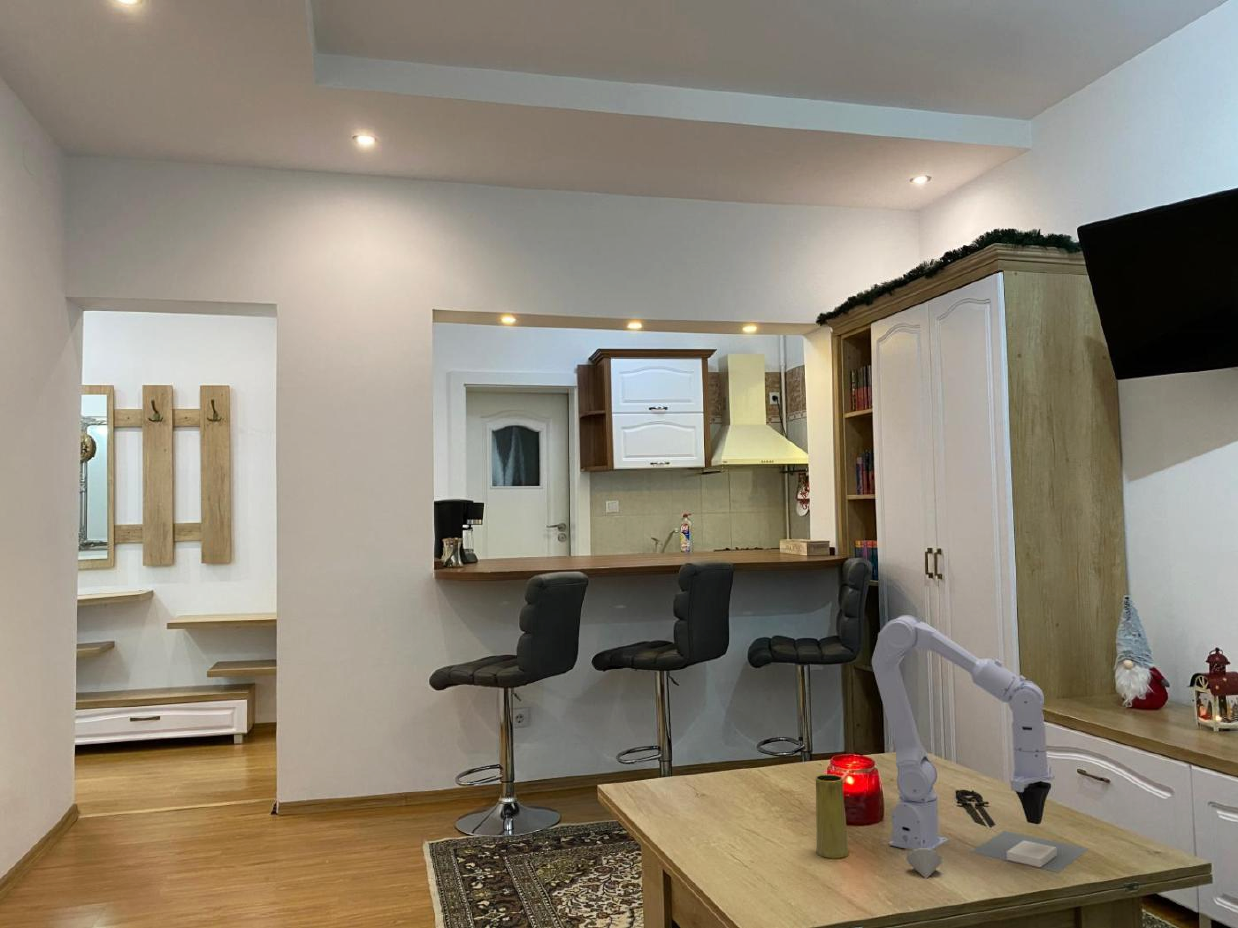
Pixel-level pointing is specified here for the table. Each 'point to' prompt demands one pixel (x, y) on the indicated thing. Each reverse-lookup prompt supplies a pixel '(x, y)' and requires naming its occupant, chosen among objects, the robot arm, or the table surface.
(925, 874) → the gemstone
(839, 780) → the vase
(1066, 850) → the mat
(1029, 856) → the tile
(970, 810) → the dark ornate flat tool
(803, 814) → the table surface
